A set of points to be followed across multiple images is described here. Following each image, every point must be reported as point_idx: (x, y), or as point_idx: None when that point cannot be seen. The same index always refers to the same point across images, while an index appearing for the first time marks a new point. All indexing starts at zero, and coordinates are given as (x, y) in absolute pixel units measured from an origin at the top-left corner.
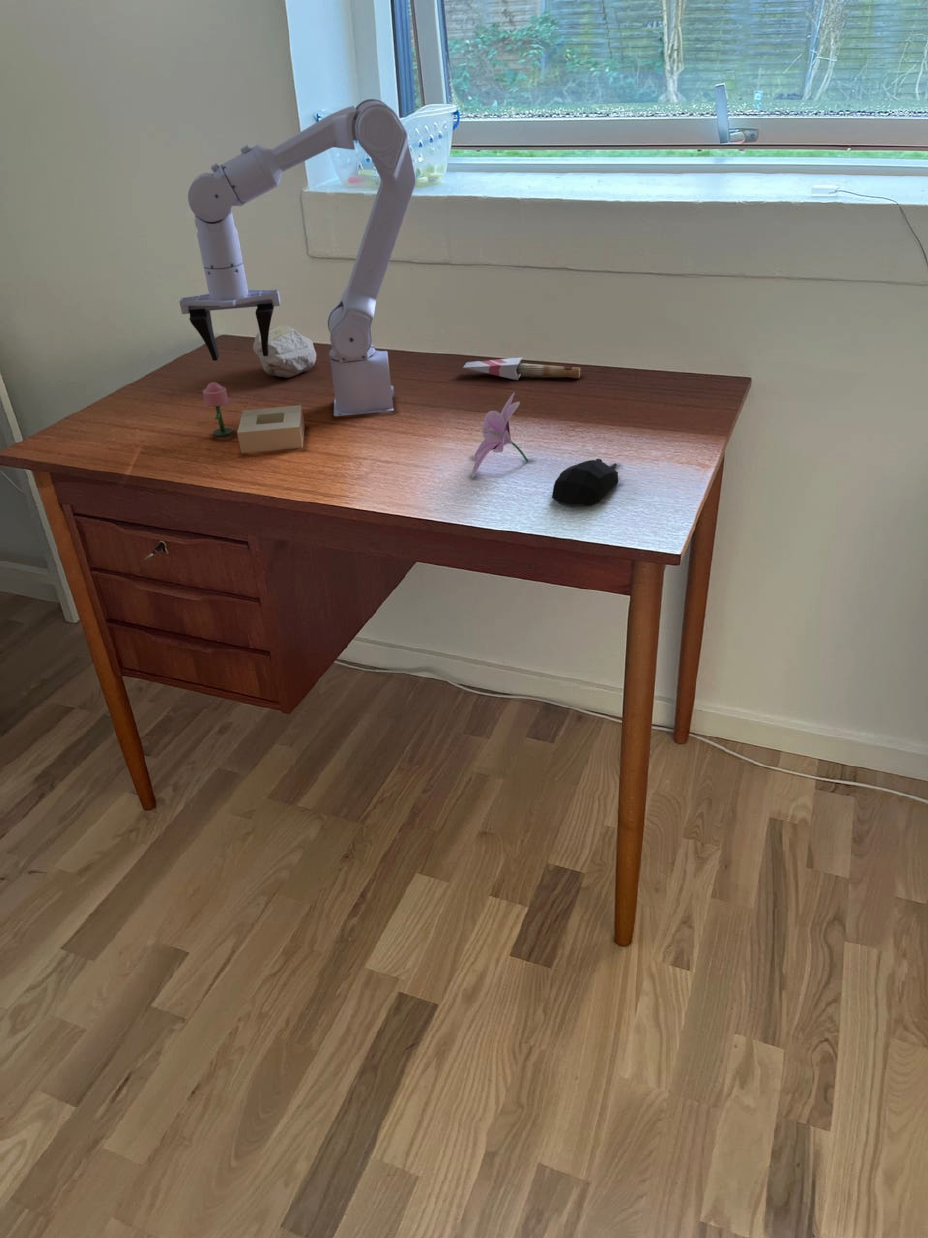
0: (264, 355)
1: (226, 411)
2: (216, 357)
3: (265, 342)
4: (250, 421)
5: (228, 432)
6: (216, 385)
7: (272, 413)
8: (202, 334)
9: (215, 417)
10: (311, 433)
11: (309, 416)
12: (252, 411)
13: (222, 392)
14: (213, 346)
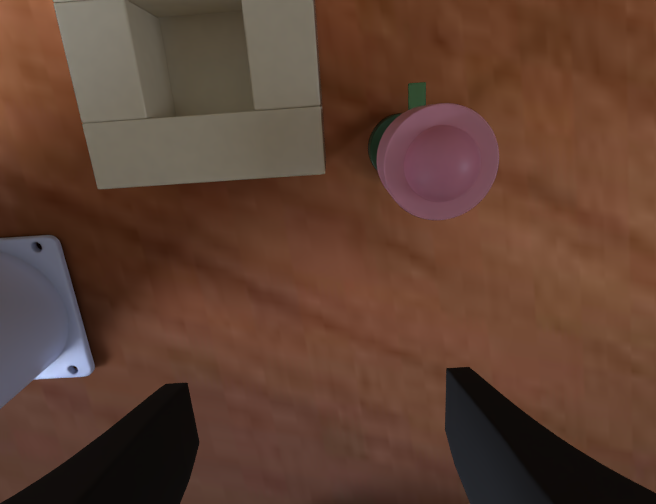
0: (179, 384)
1: (418, 357)
2: (452, 373)
3: (117, 426)
4: (269, 31)
5: (382, 131)
6: (427, 147)
7: (195, 116)
8: (596, 472)
9: (424, 88)
10: None
11: (150, 274)
12: (282, 153)
13: (394, 130)
14: (479, 417)
